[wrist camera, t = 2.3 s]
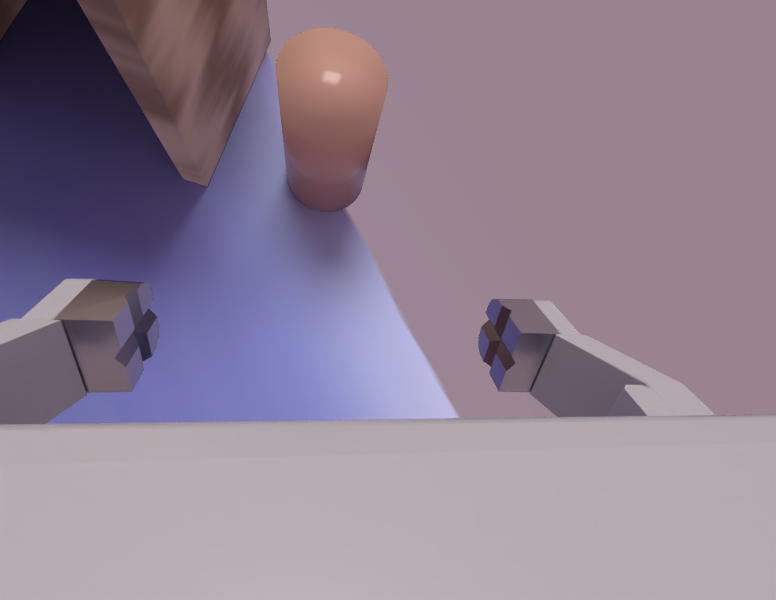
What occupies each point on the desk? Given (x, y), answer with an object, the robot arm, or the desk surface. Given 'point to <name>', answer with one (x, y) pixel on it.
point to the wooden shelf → (181, 66)
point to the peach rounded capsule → (329, 114)
